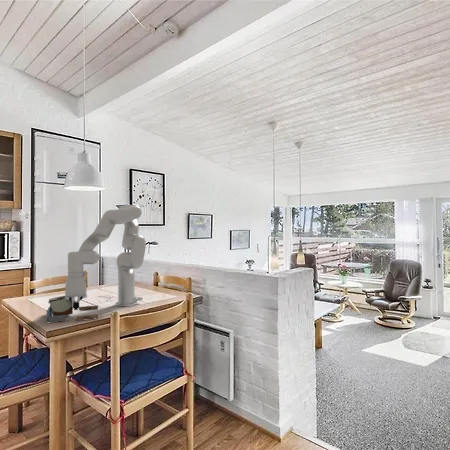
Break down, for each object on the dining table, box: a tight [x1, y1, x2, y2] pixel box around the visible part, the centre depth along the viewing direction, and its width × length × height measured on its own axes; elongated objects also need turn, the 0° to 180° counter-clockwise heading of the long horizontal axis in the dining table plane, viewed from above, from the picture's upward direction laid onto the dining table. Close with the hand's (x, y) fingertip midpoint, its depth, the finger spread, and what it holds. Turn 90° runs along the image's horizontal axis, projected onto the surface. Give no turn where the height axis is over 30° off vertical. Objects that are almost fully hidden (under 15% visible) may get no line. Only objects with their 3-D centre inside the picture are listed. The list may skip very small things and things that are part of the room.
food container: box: [48, 295, 74, 316], centre depth 170 cm, size 12×6×10 cm, turn 138°
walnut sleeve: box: [75, 304, 99, 321], centre depth 174 cm, size 10×22×2 cm, turn 21°
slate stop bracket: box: [46, 305, 67, 323], centre depth 169 cm, size 8×20×6 cm, turn 21°
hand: (76, 309), depth 172 cm, fingers closed
